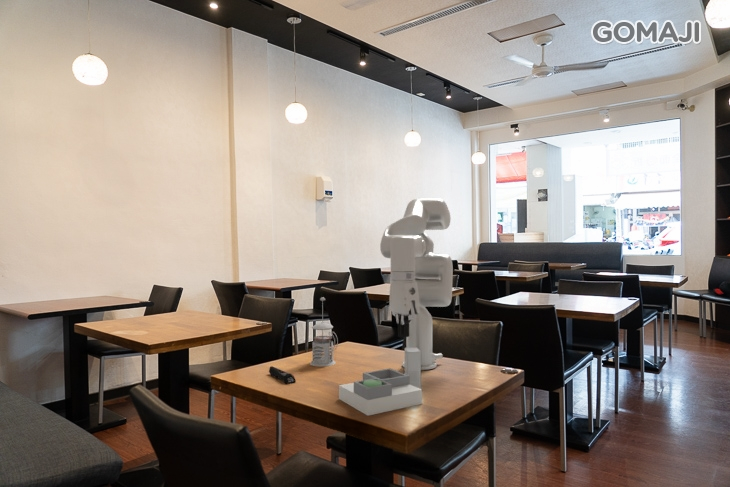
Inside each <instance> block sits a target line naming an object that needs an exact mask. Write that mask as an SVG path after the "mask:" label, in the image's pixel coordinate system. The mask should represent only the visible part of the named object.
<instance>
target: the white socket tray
mask: <svg viewBox="0 0 730 487" xmlns="http://www.w3.org/2000/svg"><path fill="white" fill-rule="evenodd" d="M366 380H379V381H381V382H382V385H380V386H374V387H367V386H365V385H363V382H364V381H366ZM338 400H340V401H342V402H344V403H345V404H348V405H349V406H350V407H352V408H354V409H355V410H357V411H359V412H360V413H363V415H365V416H372V415H373V416H374V415H377V414H381V413H386V412H390V411H396V410H400V409H406V408H410V407H414V406H415V407H416V406H418V405H423V389H422V388H421V389H420V388H417V387H415V386H412V385H410V376H409V375H406V374H405V372H404V373H403V372H401V371H398V370H396V369H393V368H390V367H389V368H384V369H379V370H372V371H365V372H362V379H361V380H355V381H353V382H351V383H345V384H339V385H338Z"/></svg>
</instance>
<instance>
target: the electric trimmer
mask: <svg viewBox="0 0 730 487" xmlns="http://www.w3.org/2000/svg"><path fill="white" fill-rule="evenodd" d="M268 369H269V370H268V373H269V374H270V375H271V376H272V377H274V378H275V379H280V380H281V381H283V382H284V384H286V385H292V384H296V383H297V382H296V378H295V377H294V375H293V374H292V373H290V372H286V371H284V370H283V369H279V368H277V367H275V366H272V365H271V366H270V367H269V368H268Z"/></svg>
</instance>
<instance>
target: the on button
mask: <svg viewBox="0 0 730 487" xmlns="http://www.w3.org/2000/svg"><path fill="white" fill-rule="evenodd" d="M363 385H365V386H367V387H374V386H380V385H382V382H381V381H379V380H366V381H364V382H363Z"/></svg>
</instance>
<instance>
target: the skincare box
mask: <svg viewBox="0 0 730 487" xmlns="http://www.w3.org/2000/svg"><path fill="white" fill-rule="evenodd" d="M404 361H405V367H404V374H406V375H409V376H410V385H412V386H415V387H417V388H420V389H422V377H421V376H422V375H421V371H422V370H421V358H420V351H419V349H418V348H416V347H415V348H407V347H404Z"/></svg>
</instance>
